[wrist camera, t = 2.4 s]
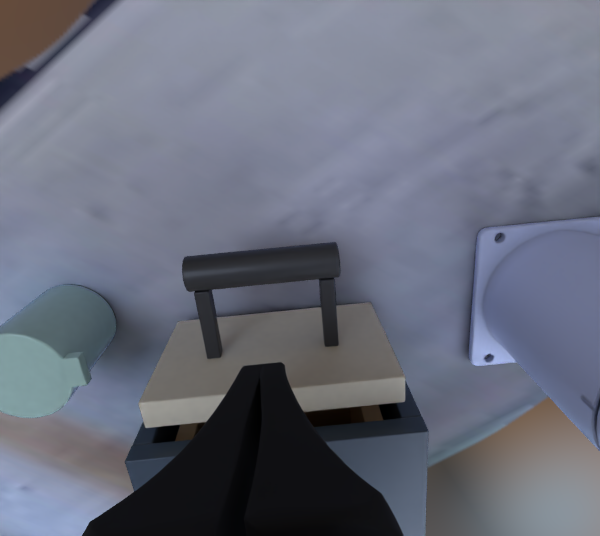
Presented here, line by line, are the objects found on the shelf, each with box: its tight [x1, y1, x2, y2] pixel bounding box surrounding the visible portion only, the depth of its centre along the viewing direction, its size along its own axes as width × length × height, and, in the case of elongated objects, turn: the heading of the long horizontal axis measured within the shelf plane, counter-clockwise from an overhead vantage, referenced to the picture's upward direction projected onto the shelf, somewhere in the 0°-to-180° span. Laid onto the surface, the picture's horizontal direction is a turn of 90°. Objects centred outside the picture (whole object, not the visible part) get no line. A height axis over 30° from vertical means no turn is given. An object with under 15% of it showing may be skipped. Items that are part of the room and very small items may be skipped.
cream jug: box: [0, 285, 116, 418], centre depth 19 cm, size 6×4×5 cm
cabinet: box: [125, 381, 428, 536], centre depth 21 cm, size 13×11×8 cm
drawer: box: [138, 242, 405, 441], centre depth 19 cm, size 16×10×6 cm, turn 5°
